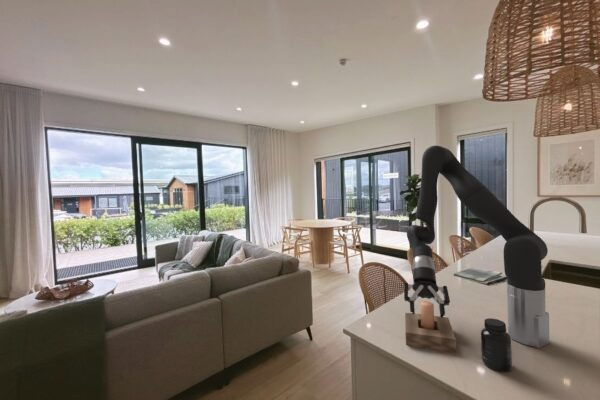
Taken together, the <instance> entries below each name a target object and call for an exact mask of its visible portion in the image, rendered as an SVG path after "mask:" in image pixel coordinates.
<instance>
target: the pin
mask: <svg viewBox="0 0 600 400" xmlns="http://www.w3.org/2000/svg"><path fill="white" fill-rule="evenodd" d="M419 307H420V314H421V328H424V329H431V330H434V316H435V310H434V307H435V305H434V303H433V302H431V301H426V300H425V301H421V302H420V306H419Z"/></svg>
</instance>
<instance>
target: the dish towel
mask: <svg viewBox="0 0 600 400" xmlns="http://www.w3.org/2000/svg"><path fill="white" fill-rule="evenodd" d="M502 274H503V272H501V271H494V270H490V269H484V268H478V267H470V268H467V269H463V270H460V271H457V272H455V273H453V276H454V277H456V278H457V277H458V278H461V279H464V280H467V281H471V282H474V283H478V284H481V285H484V286H487V285H491V284H496V283H499V282H502V281H504V280H507V277H506V275H502Z"/></svg>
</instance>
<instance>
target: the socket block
mask: <svg viewBox="0 0 600 400" xmlns="http://www.w3.org/2000/svg"><path fill="white" fill-rule="evenodd" d="M404 314H405V316H404V318H405V319H404V320H405V324H404V325H405V345H407V346H412V347H420V348H425V349H433V350H439V351H446V352H451V353H457V339H456V336H455V332H454V330H453V327H452V325H451V322H450V318H449V316H448V317H447V316H443V318H442V317H440V315H439V316H438V315H434V330H431V329H424V328H421V313H415V314H412V312H405V313H404Z"/></svg>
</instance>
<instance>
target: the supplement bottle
mask: <svg viewBox="0 0 600 400" xmlns="http://www.w3.org/2000/svg"><path fill="white" fill-rule="evenodd" d="M483 325H484V328H481V330H480V349H481V350H480V351H481V361H482V362H483V364H484V365H485V366H486V367H488V368H489V369H491V370H493V371H496V372H501V373H507V372H510V371H511V370H512V369H513V352H512V351H513V349H512V338H511V337H510V335H509V334H508V331H507V325H506V323H505V322H504V321H503V320H500V319H498V318H492V317H490V318H484V324H483Z"/></svg>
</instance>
